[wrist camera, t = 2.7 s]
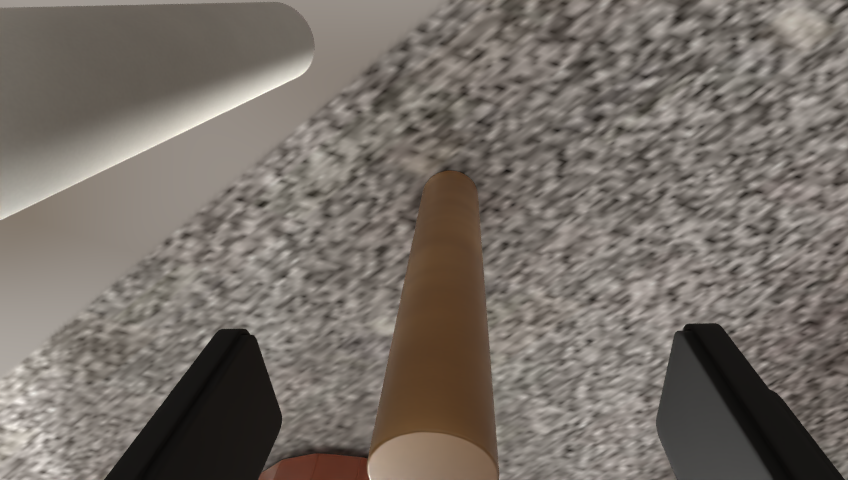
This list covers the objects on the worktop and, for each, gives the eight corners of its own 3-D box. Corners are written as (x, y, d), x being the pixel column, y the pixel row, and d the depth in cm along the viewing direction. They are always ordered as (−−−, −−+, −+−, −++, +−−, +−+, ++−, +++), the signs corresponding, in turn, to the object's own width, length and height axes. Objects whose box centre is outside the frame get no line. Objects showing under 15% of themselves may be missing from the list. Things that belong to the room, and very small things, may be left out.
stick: (413, 207, 20) (347, 489, 8) (437, 160, 19) (397, 412, 7) (462, 229, 20) (461, 529, 9) (487, 184, 19) (524, 460, 8)
